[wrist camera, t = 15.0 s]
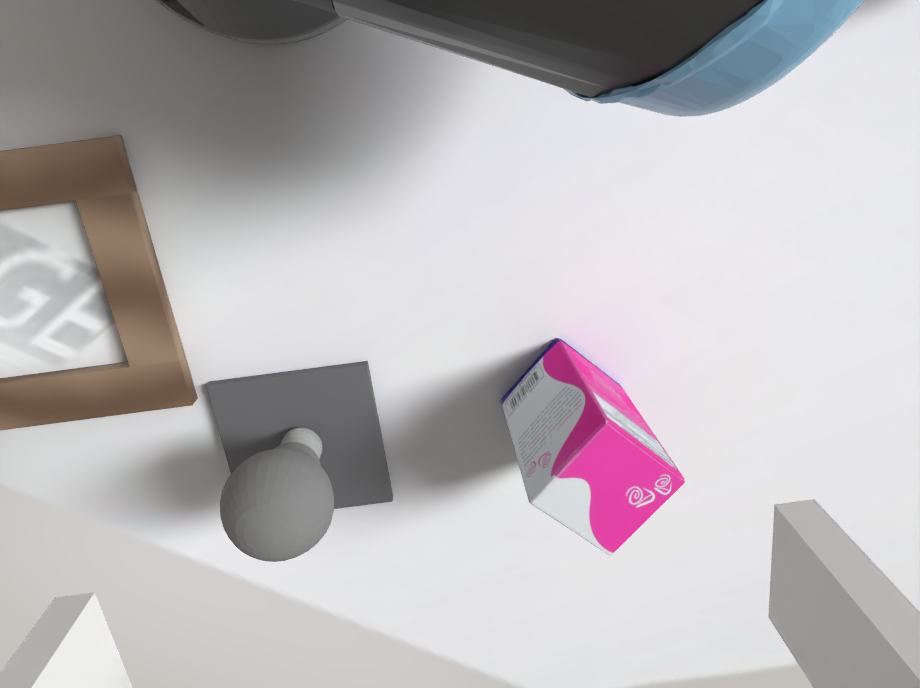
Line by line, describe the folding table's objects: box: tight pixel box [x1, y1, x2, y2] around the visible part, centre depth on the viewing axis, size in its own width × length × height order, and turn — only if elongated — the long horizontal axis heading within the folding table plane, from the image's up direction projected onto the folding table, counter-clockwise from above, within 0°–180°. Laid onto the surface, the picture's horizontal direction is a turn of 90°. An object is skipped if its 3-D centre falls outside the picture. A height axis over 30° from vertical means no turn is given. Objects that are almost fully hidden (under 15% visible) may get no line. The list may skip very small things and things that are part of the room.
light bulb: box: [220, 428, 334, 562], centre depth 39 cm, size 6×6×10 cm
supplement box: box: [501, 338, 685, 555], centre depth 38 cm, size 6×6×12 cm
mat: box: [206, 361, 393, 509], centre depth 44 cm, size 10×10×1 cm
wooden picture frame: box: [0, 135, 197, 430], centre depth 39 cm, size 16×16×1 cm
